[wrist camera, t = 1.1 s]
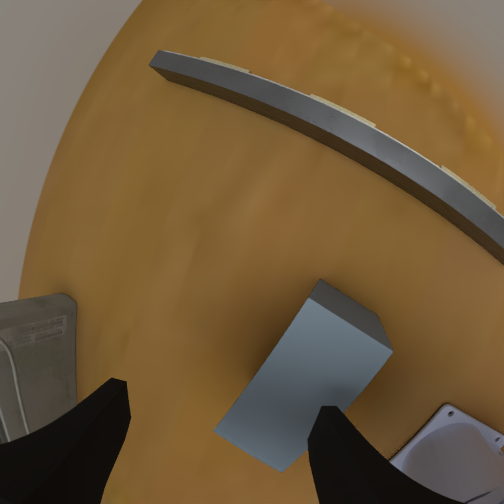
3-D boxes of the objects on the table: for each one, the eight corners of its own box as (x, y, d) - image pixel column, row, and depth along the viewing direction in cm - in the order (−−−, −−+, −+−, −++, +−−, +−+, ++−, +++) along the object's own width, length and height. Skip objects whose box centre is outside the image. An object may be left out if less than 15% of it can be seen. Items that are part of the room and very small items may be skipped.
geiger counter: (-58, 302, 13) (-2, 485, 16) (-38, 338, 12) (29, 520, 14) (55, 287, 27) (65, 447, 29) (92, 308, 25) (96, 473, 27)
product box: (377, 315, 18) (394, 352, 11) (302, 412, 20) (282, 473, 13) (320, 278, 19) (308, 297, 12) (251, 380, 21) (212, 430, 14)
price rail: (516, 240, 15) (538, 239, 12) (504, 266, 15) (526, 269, 12) (180, 61, 22) (162, 44, 19) (167, 80, 22) (148, 65, 19)
